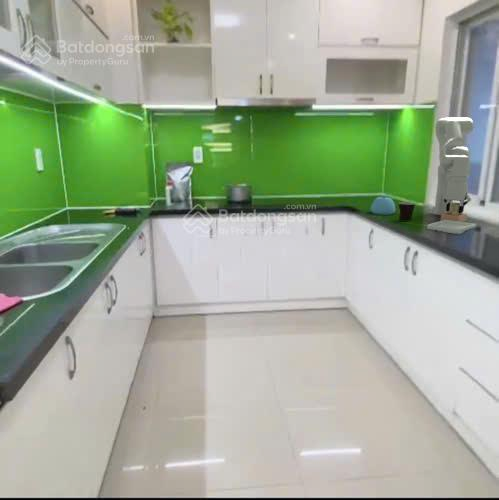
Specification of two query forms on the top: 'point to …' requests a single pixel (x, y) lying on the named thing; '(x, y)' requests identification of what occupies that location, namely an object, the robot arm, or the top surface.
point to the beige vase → (454, 208)
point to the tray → (451, 226)
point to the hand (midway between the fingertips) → (454, 211)
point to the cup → (453, 217)
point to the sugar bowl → (383, 206)
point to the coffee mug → (406, 211)
